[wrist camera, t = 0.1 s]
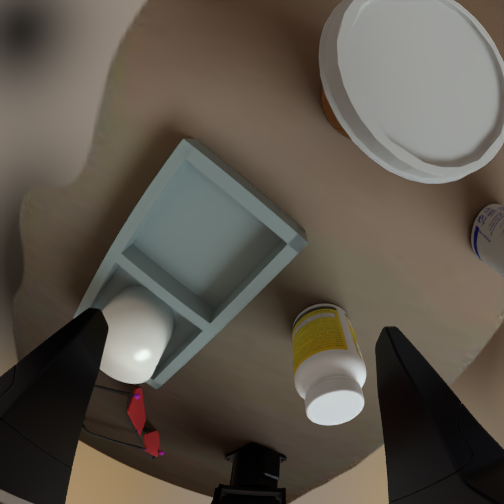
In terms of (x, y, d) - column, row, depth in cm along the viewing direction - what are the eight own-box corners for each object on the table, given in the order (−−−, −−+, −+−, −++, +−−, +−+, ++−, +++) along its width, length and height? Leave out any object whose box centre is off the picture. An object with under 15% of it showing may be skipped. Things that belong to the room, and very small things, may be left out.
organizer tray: (165, 371, 30) (157, 389, 27) (84, 308, 28) (70, 323, 25) (304, 230, 23) (308, 243, 20) (195, 138, 21) (183, 138, 19)
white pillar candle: (155, 352, 28) (134, 393, 23) (105, 314, 27) (75, 349, 21) (188, 316, 26) (168, 359, 20) (132, 271, 25) (98, 305, 19)
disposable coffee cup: (326, 26, 17) (365, -58, 6) (431, 85, 18) (530, 63, 7) (279, 128, 21) (281, 114, 10) (389, 184, 21) (478, 228, 10)
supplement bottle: (279, 333, 27) (278, 416, 18) (316, 290, 25) (333, 369, 16) (324, 357, 28) (336, 437, 19) (361, 319, 26) (391, 397, 17)
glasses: (168, 441, 37) (160, 467, 32) (78, 418, 38) (66, 439, 33) (146, 379, 32) (131, 409, 27) (46, 356, 33) (27, 377, 28)
